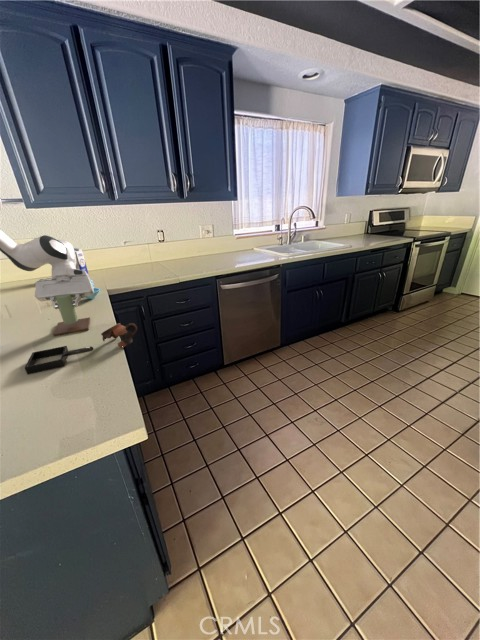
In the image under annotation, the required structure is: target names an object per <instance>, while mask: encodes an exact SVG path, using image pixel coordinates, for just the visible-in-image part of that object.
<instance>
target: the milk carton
mask: <svg viewBox="0 0 480 640" xmlns="http://www.w3.org/2000/svg"><path fill="white" fill-rule="evenodd" d="M73 248H74V251H75V255H76V269H78V270H84V271H86V272H87V274H88V275H89V276H90V274H89V270H88V267H87V262H86V259H85V255H84V251H83V249H80V248H78V247H73Z"/></svg>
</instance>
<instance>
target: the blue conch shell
mask: <svg viewBox="0 0 480 640" xmlns="http://www.w3.org/2000/svg"><path fill="white" fill-rule="evenodd" d="M90 281H91V283H92V285H93V288H94V294H93V295H91V296H83V297H84V298H86V299H88V300H94V299H95V298H96V297H97V296H98V294H99V293H100V291H101V288H99V287H95V283H94V281H93V279H90Z"/></svg>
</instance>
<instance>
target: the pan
mask: <svg viewBox="0 0 480 640" xmlns="http://www.w3.org/2000/svg"><path fill="white" fill-rule="evenodd" d="M94 349H95V348H94V346H86V347H81V348H77V349H76V348H75V349H72V350H69V349H68V345H64V346H58V347H53V348H47V349H44V350H43V349H42V350H38V351H33V352H32V353H31V355H30V356H29V358H28V360H27V362H26V364H25V366H24V370H25V372H26V374H27V375H32V374H37V373H42V372H45V371H46V372H47V371H50V370H54V369H59V368H64V367H66V364H65V363H67V360H68V357H70V356H74V355H80V354H85V353H89V352H93V351H94ZM60 355H61V357H60V359H56V360H50V361H46V362H41V363H36V362H37V360H39V359H40V358H41V359H45V358H50V357H54V356H60ZM49 356H50V357H49ZM44 357H45V358H44ZM66 359H67V360H66ZM35 361H36V362H35Z"/></svg>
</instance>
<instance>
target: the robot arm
mask: <svg viewBox="0 0 480 640" xmlns="http://www.w3.org/2000/svg"><path fill="white" fill-rule="evenodd" d="M2 211H3V201H2V199H1V197H0V215H1V214H2ZM74 248H75V247H74V246H73V244H72V243H70V242H69V241H67V240H64V239H56V238H55V237H52V236H50V235H46V234H45V235H40V236H38V237H35V238H33V239H31V240H29V241H27V242H24V243H17V242H16V241H14V240H13V239H12V238H11V237H9V236H8V235H7V234H6V233H5V232H4V231H3V230H2V229H0V252H1V253H2V254H3V255H5V256H6V257H7V258H8V259H9V261H10V262H11V263H12V264H13V265H14V266H15V267H17V268H18V269H20V270H22V271H26V272H33V271H35V270H37V269H40V268H41V267H43V266H45V265H50V266H51V277H49V278H40V279H38V280H37V281H35V283H34V285H35V290H34V298H35V299H37V300H38V301H39V302H48V301H50V302H51V303H52V304H53V309H54V310H59V307H58V304H57V301H56V298H55V296H57V295H63V294H71V297H72V299H73V298H75V299H74V300H73V302H72V303H73V306H74V307H79V302H80V301H81V299H82V297H84V296H91V295H93V294H94V288H93V287H94V286H93V285H92V283H93V282H92V283H91V281H90V280H91V278H90V274H89V273H88V274H89V275H88V274H87V272H86V271H84V270H78V269H76V255H75V251H74Z"/></svg>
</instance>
